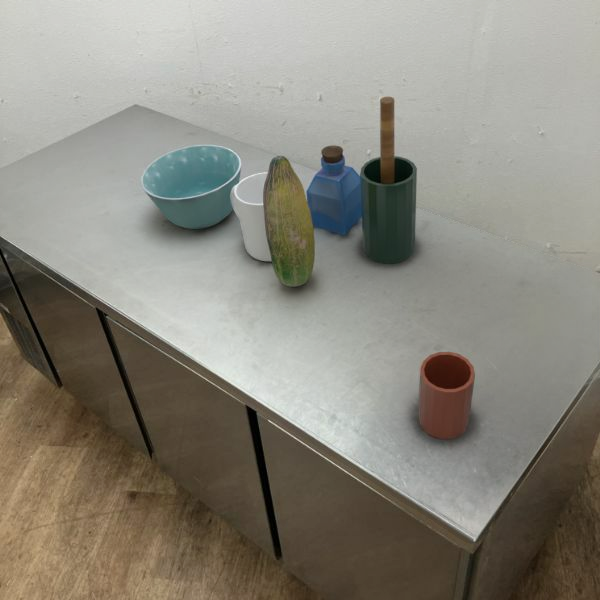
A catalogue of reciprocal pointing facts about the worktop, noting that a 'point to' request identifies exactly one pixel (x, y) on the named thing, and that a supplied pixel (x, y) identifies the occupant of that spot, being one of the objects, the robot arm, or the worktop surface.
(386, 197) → the cup
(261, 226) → the mug
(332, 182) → the perfume bottle
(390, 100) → the wooden dowel rod
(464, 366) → the holder
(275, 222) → the vegetable
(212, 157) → the bowl
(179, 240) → the worktop surface
